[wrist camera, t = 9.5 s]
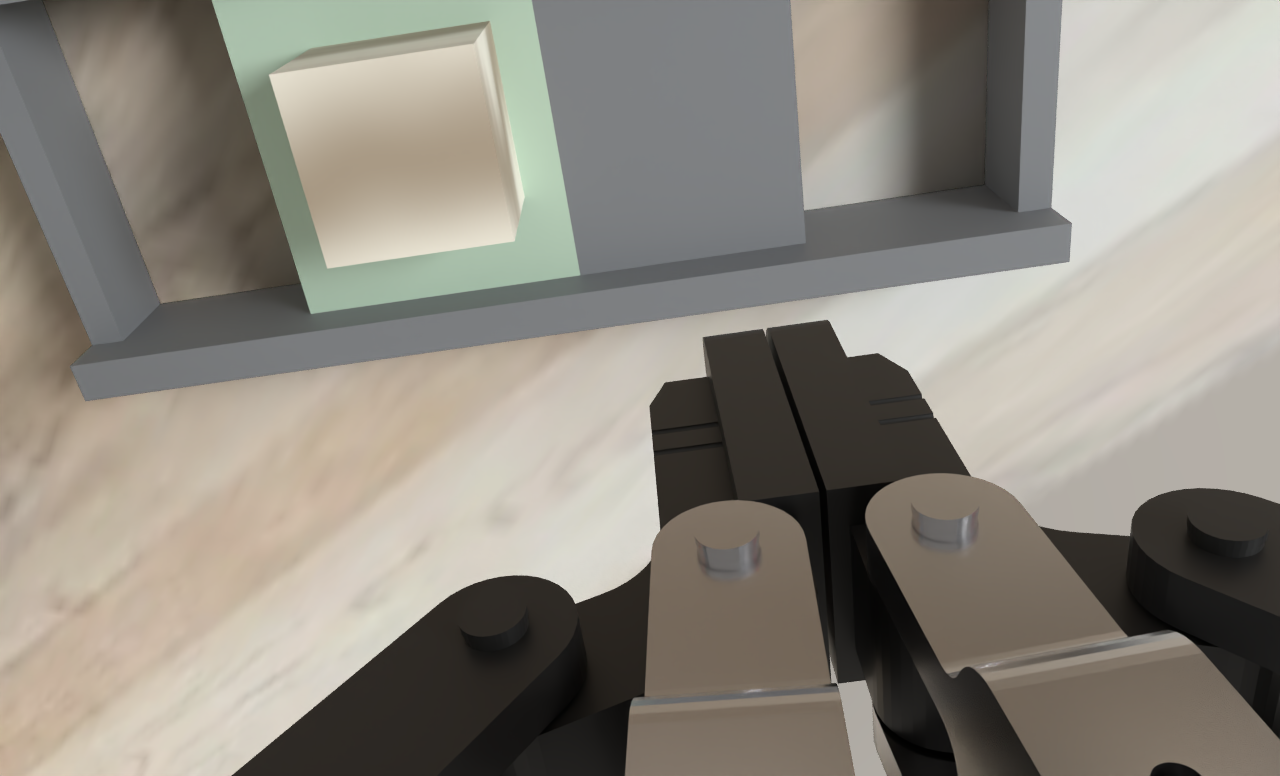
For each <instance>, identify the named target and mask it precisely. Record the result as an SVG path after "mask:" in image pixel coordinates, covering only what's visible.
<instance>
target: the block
mask: <svg viewBox="0 0 1280 776" xmlns="http://www.w3.org/2000/svg"><path fill="white" fill-rule="evenodd" d="M269 77H270V80H271V83H272V87H273V90H274V93H275V97H276V100H277V103H278V107H279V110H280V113H281V117H282V120H283V123H284V127H285V130H286V133H287V137H288V140H289V143H290V147H291V150H292V153H293V156H294V160H295V163H296V166H297V170H298V173H299V176H300V180H301V183H302V186H303V190H304V193H305V196H306V200H307V203H308V206H309V210H310V213H311V216H312V220H313V223H314V226H315V229H316V233H317V236H318V239H319V243H320V246H321V249H322V253H323V256H324V259H325V263H326V266H327V269H328V268H335V267H342V266H349V265H356V264H362V263H369V262H376V261H383V260H390V259H397V258H404V257H411V256H417V255H424V254H431V253H438V252H445V251H452V250H459V249H466V248H473V247H479V246H486V245H493V244H500V243H507V242H514V241H515V237H516V233H517V229H518V224H519V220H520V215H521V211H522V206H523V202H524V198H525V196H524V191H523V186H522V181H521V176H520V171H519V166H518V160H517V155H516V150H515V145H514V140H513V135H512V130H511V125H510V120H509V115H508V110H507V105H506V100H505V95H504V90H503V84H502V79H501V74H500V69H499V64H498V59H497V54H496V49H495V44H494V39H493V34H492V29H491V24H490V21H486V22H479V23H472V24H466V25H459V26H453V27H446V28H440V29H433V30H427V31H420V32H413V33H407V34H400V35H394V36H387V37H381V38H374V39H368V40H361V41H354V42H348V43H341V44H335V45H328V46H322V47H315V48H311V49H309V50H307V51H306V52H304V53H303V54H301V55H299V56H298V57H296V58H295V59H293V60H291V61H290V62H288V63H287V64H285V65H283V66H282V67H280V68H279V69H277V70H276V71H274V72H272V73H271V74H269Z"/></svg>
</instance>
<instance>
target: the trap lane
mask: <svg viewBox="0 0 1280 776" xmlns="http://www.w3.org/2000/svg"><path fill="white" fill-rule="evenodd" d="M212 3H213V6H214V9H215V12H216V15H217V19H218V22H219V25H220V28H221V31H222V34H223V38H224V41H225V44H226V47H227V50H228V53H229V57H230V60H231V63H232V66H233V69H234V72H235V76H236V79H237V82H238V85H239V88H240V91H241V95H242V98H243V101H244V104H245V107H246V110H247V114H248V117H249V120H250V123H251V126H252V129H253V133H254V136H255V139H256V142H257V145H258V148H259V152H260V155H261V158H262V161H263V164H264V167H265V171H266V174H267V177H268V180H269V183H270V186H271V190H272V193H273V196H274V199H275V202H276V205H277V209H278V212H279V215H280V218H281V221H282V224H283V228H284V231H285V234H286V237H287V240H288V243H289V247H290V250H291V253H292V256H293V259H294V262H295V266H296V269H297V272H298V275H299V278H300V281H301V284H295V285H288V286H281V287H274V288H267V289H260V290H253V291H246V292H240V293H233V294H226V295H219V296H212V297H205V298H198V299H191V300H184V301H177V302H170V303H163V304H160V302H159V299H158V297H157V294H156V292H155V289H154V286H153V284H152V281H151V279H150V276H149V274H148V271H147V268H146V266H145V263H144V261H143V258H142V256H141V253H140V250H139V248H138V245H137V243H136V240H135V238H134V235H133V232H132V230H131V227H130V225H129V222H128V220H127V217H126V215H125V212H124V209H123V207H122V204H121V202H120V199H119V197H118V194H117V191H116V189H115V186H114V184H113V181H112V179H111V176H110V173H109V171H108V168H107V166H106V163H105V161H104V158H103V155H102V153H101V150H100V148H99V145H98V143H97V140H96V137H95V135H94V132H93V130H92V127H91V125H90V122H89V120H88V117H87V114H86V112H85V109H84V107H83V104H82V102H81V99H80V96H79V94H78V91H77V89H76V86H75V84H74V81H73V78H72V76H71V73H70V71H69V68H68V66H67V63H66V60H65V58H64V55H63V53H62V50H61V48H60V45H59V43H58V40H57V37H56V35H55V32H54V30H53V27H52V25H51V22H50V19H49V17H48V14H47V12H46V9H45V7H44V4H43V1H42V0H0V133H1V136H2V138H3V140H4V143H5V145H6V147H7V149H8V152H9V154H10V156H11V159H12V161H13V163H14V166H15V168H16V170H17V173H18V175H19V177H20V180H21V182H22V184H23V186H24V189H25V191H26V193H27V196H28V198H29V200H30V203H31V205H32V207H33V210H34V212H35V214H36V217H37V219H38V221H39V223H40V226H41V228H42V230H43V233H44V235H45V237H46V240H47V242H48V244H49V247H50V249H51V251H52V254H53V256H54V258H55V260H56V263H57V265H58V267H59V270H60V272H61V274H62V277H63V279H64V281H65V284H66V286H67V288H68V291H69V293H70V295H71V297H72V300H73V302H74V304H75V307H76V309H77V311H78V314H79V316H80V318H81V321H82V323H83V325H84V327H85V330H86V332H87V334H88V337H89V339H90V341H91V344H92V346H91V347H90V348H89V349H88V350H87V351H86V352H85V353H84V354H82V355H81V356H80V357H79V358H78V359H77V360H76V361H75V362H74V363H73V364H72V365H71V366H70V368H71V370H72V372H73V375H74V377H75V379H76V381H77V383H78V386H79V388H80V390H81V392H82V395H83V397H84V399H85V401H90V400H97V399H104V398H111V397H118V396H126V395H133V394H140V393H147V392H154V391H161V390H168V389H175V388H182V387H189V386H196V385H203V384H210V383H217V382H224V381H231V380H239V379H246V378H253V377H260V376H267V375H274V374H281V373H288V372H295V371H302V370H309V369H316V368H323V367H330V366H337V365H344V364H352V363H359V362H366V361H373V360H380V359H387V358H394V357H401V356H408V355H415V354H422V353H429V352H436V351H443V350H450V349H457V348H464V347H472V346H479V345H486V344H493V343H500V342H507V341H514V340H521V339H528V338H535V337H542V336H549V335H556V334H563V333H570V332H577V331H585V330H592V329H599V328H606V327H613V326H620V325H627V324H634V323H641V322H648V321H655V320H662V319H669V318H676V317H683V316H690V315H698V314H705V313H712V312H719V311H726V310H733V309H740V308H747V307H754V306H761V305H768V304H775V303H782V302H789V301H796V300H803V299H810V298H818V297H825V296H832V295H839V294H846V293H853V292H860V291H867V290H874V289H881V288H888V287H895V286H902V285H909V284H916V283H923V282H931V281H938V280H945V279H952V278H959V277H966V276H973V275H980V274H987V273H994V272H1001V271H1008V270H1015V269H1022V268H1029V267H1036V266H1044V265H1051V264H1058V263H1065V262H1069V259H1070V243H1071V227H1072V223H1071V222H1069V221H1068V220H1067V219H1065V218H1064V217H1063V216H1061V215H1060V214H1059V213H1057V212H1056V211H1055V210H1053V209H1052V208H1051V202H1052V183H1053V165H1054V146H1055V127H1056V108H1057V90H1058V71H1059V52H1060V33H1061V15H1062V0H989V10H988V57H987V104H986V150H985V185H981V186H974V187H967V188H960V189H953V190H946V191H939V192H932V193H925V194H918V195H911V196H904V197H897V198H891V199H884V200H877V201H870V202H863V203H856V204H849V205H842V206H835V207H828V208H821V209H814V210H807V211H804V205H803V190H802V175H801V159H800V144H799V128H798V113H797V97H796V82H795V66H794V51H793V36H792V20H791V5H790V0H212ZM486 21H490V24H491V29H492V34H493V39H494V44H495V49H496V54H497V59H498V64H499V69H500V74H501V79H502V84H503V90H504V95H505V100H506V105H507V110H508V115H509V120H510V125H511V130H512V135H513V140H514V145H515V150H516V155H517V160H518V166H519V171H520V176H521V181H522V186H523V191H524V196H525V198H524V202H523V206H522V211H521V215H520V220H519V224H518V229H517V233H516V237H515V241H514V242H507V243H500V244H493V245H486V246H479V247H473V248H466V249H459V250H452V251H445V252H438V253H431V254H424V255H417V256H411V257H404V258H397V259H390V260H383V261H376V262H369V263H362V264H356V265H349V266H342V267H335V268H328V269H327V266H326V263H325V259H324V256H323V253H322V249H321V246H320V243H319V239H318V236H317V233H316V229H315V226H314V223H313V220H312V216H311V213H310V210H309V206H308V203H307V200H306V196H305V193H304V190H303V186H302V183H301V180H300V176H299V173H298V170H297V166H296V163H295V160H294V156H293V153H292V150H291V147H290V143H289V140H288V137H287V133H286V130H285V127H284V123H283V120H282V117H281V113H280V110H279V107H278V103H277V100H276V97H275V93H274V90H273V87H272V83H271V80H270V77H269V74H271V73H272V72H274V71H276V70H277V69H279V68H280V67H282V66H283V65H285V64H287V63H288V62H290V61H291V60H293V59H295V58H296V57H298V56H299V55H301V54H303V53H304V52H306V51H307V50H309V49H311V48H315V47H322V46H328V45H335V44H341V43H348V42H354V41H361V40H368V39H374V38H381V37H387V36H394V35H400V34H407V33H413V32H420V31H427V30H433V29H440V28H446V27H453V26H459V25H466V24H472V23H479V22H486Z"/></svg>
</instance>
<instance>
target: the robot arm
mask: <svg viewBox="0 0 1280 776" xmlns="http://www.w3.org/2000/svg"><path fill="white" fill-rule="evenodd" d="M703 349H704V358H705V367H706V375H707V377H703V378H695V379H688V380H681V381H673V382H666V383H664V385H663V387H662V388H661V390H660V391H659V393H658V394H657V396H656V397H655V399H654V400H653V402H652V403H651V405H650V417H651V429H652V440H653V451H654V462H655V473H656V485H657V496H658V507H659V518H660V532H659V533H658V534H657V536H656V538H655V540H654V542H653V546H652V553H651V561H650V562H649V564H648V565H647V566H646V567H645V568H644V569H643V570H642V571H641V572H640V573H639V574H638V575H636V576H635V577H633V578H632V579H631V580H629V581H628V582H626V583H624V584H623V585H621V586H619V587H617V588H615V589H613V590H611V591H608V592H606V593H604V594H601V595H598V596H596V597H593V598H590V599H588V600H585V601H582V602H579V603H577V604H575V603H574V600H573V598H572V597H571V596H570V595H569V593H568V592H567V591H566V590H564V589H563V588H562V587H560V586H559V585H557V584H555V583H553V582H551V581H549V580H546V579H542V578H539V577H532V576H515V575H514V576H504V577H497V578H492V579H488V580H484V581H481V582H478V583H475V584H473V585H470V586H468V587H466V588H463V589H461V590H459V591H458V592H456V593H454V594H452V595H451V596H449V597H448V598H446V599H445V600H444V601H442V602H441V603H440V604H438V605H437V606H436V607H435V608H434V609H432V610H431V611H430V612H429V613H428V614H426V615H425V616H424V617H423V618H421V619H420V620H419V621H418V622H417V623H415V624H414V625H413V626H412V627H411V628H409V629H408V630H407V631H406V632H405V633H403V634H402V635H401V636H400V637H399V638H397V639H396V640H395V641H394V642H393V643H391V644H390V645H389V646H388V647H386V648H385V649H384V650H383V651H382V652H380V653H379V654H378V655H377V656H376V657H374V658H373V659H372V660H371V661H370V662H368V663H367V664H366V665H365V666H364V667H362V668H361V669H360V670H359V671H357V672H356V673H355V674H354V675H353V676H351V677H350V678H349V679H348V680H347V681H345V682H344V683H343V684H342V685H341V686H339V687H338V688H337V689H336V690H335V691H333V692H332V693H331V694H330V695H328V696H327V697H326V698H325V699H324V700H322V701H321V702H320V703H319V704H318V705H316V706H315V707H314V708H313V709H312V710H310V711H309V712H308V713H307V714H306V715H304V716H303V717H302V718H301V719H300V720H298V721H297V722H296V723H295V724H293V725H292V726H291V727H290V728H289V729H287V730H286V731H285V732H284V733H283V734H281V735H280V736H279V737H278V738H277V739H275V740H274V741H273V742H272V743H271V744H269V745H268V746H267V747H266V748H264V749H263V750H262V751H261V752H260V753H258V754H257V755H256V756H255V757H254V758H252V759H251V760H250V761H249V762H248V763H246V764H245V765H244V766H243V767H242V768H240V769H239V770H238V771H237V772H235V773H234V774H233V775H232V776H855V773H854V767H853V762H852V756H851V751H850V745H849V740H848V734H847V729H846V724H845V718H844V712H843V707H842V702H841V697H840V693H839V689H838V686H837V684H836V683H831V671H830V657H831V661H832V664H833V668H834V671H835V674H836V678H837V682H838V683H846V682H854V681H861V680H866V683H867V686H868V689H869V692H870V695H871V698H872V707H873V732H874V743H875V746H876V750H877V752H878V755H879V757H880V760H881V762H882V765H883V767H884V769H885V772H886V774H887V776H1280V504H1278V503H1274V502H1272V501H1269V500H1266V499H1263V498H1259V497H1256V496H1253V495H1249V494H1245V493H1240V492H1235V491H1230V490H1221V489H1206V488H1196V489H1183V490H1177V491H1171V492H1168V493H1164V494H1161V495H1158V496H1156V497H1154V498H1151V499H1149V500H1148V501H1147V502H1145V503H1144V504H1143V505H1141V506H1140V507H1139V508H1138V510H1137V511H1136V512H1135V514H1134V516H1133V519H1132V524H1131V533H1130V536H1120V535H1105V534H1091V533H1077V532H1068V531H1059V530H1054V529H1049V528H1044V527H1040V526H1038V524H1037V523H1036V522H1035V521H1034V519H1033V518H1032V517H1031V516H1030V514H1029V513H1028V512H1027V511H1026V509H1025V508H1024V507H1023V506H1022V504H1021V503H1020V502H1019V501H1018V500H1017V499H1016V498H1015V497H1014V496H1013V495H1012V494H1010V493H1009V492H1007V491H1006V490H1005V489H1003V488H1001V487H999V486H997V485H995V484H993V483H990V482H988V481H985V480H982V479H979V478H975V477H971V475H970V474H969V472H968V470H967V469H966V467H965V465H964V464H963V462H962V460H961V459H960V457H959V455H958V454H957V452H956V450H955V449H954V447H953V445H952V444H951V442H950V440H949V439H948V437H947V435H946V434H945V432H944V431H943V429H942V427H941V426H940V424H939V422H938V421H937V419H936V418H934V417H933V412H932V411H931V409H930V407H929V406H928V404H927V402H926V401H925V399H922V394H921V392H920V391H919V389H918V387H917V386H916V384H915V382H914V381H913V379H912V377H911V376H910V374H909V372H908V371H907V370H905V369H904V368H902V367H900V366H899V365H897V364H895V363H894V362H892V361H890V360H888V359H887V358H885V357H883V356H882V355H880V354H878V353H876V354H869V355H862V356H855V357H847V356H846V354H845V352H844V350H843V348H842V346H841V344H840V342H839V340H838V338H837V336H836V334H835V332H834V330H833V328H832V326H831V324H830V322H829V321H828V320H823V321H816V322H809V323H801V324H794V325H787V326H780V327H772V328H767V330H766V336H765V333H764V331H763V329H759V330H752V331H745V332H738V333H730V334H723V335H716V336H709V337H703ZM829 654H830V655H829Z"/></svg>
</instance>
